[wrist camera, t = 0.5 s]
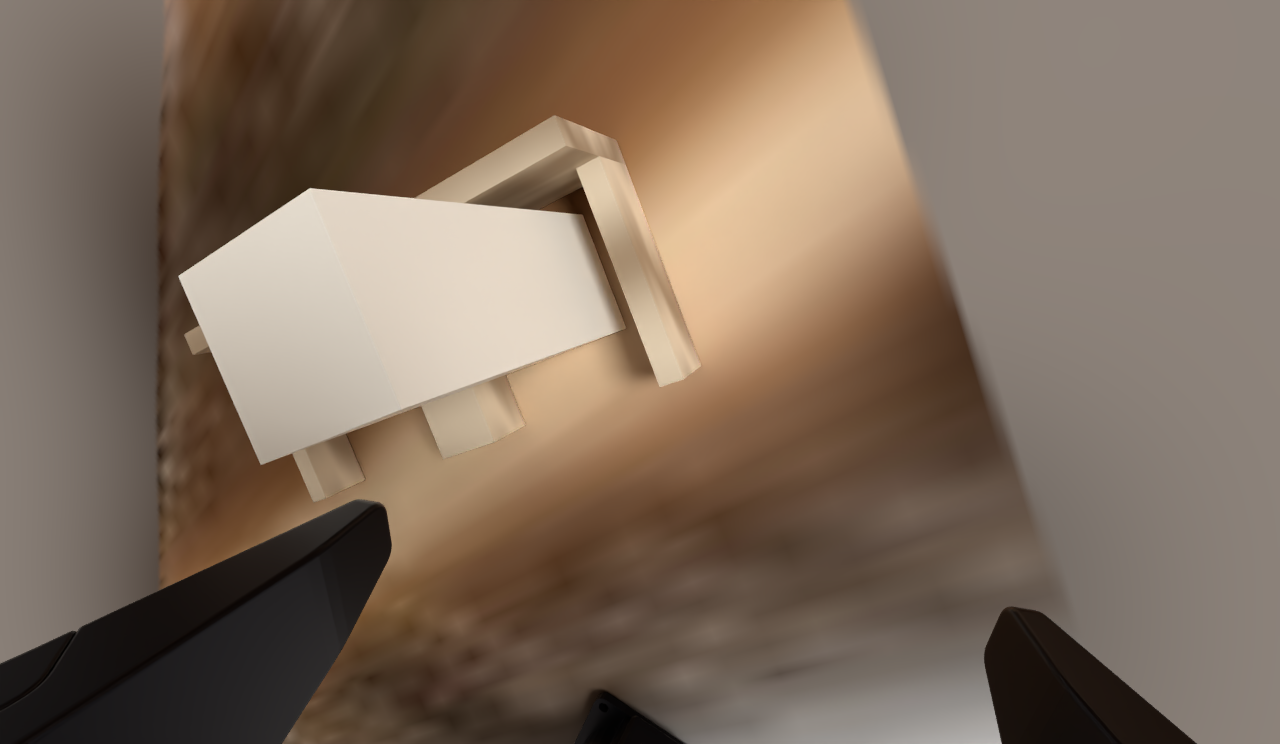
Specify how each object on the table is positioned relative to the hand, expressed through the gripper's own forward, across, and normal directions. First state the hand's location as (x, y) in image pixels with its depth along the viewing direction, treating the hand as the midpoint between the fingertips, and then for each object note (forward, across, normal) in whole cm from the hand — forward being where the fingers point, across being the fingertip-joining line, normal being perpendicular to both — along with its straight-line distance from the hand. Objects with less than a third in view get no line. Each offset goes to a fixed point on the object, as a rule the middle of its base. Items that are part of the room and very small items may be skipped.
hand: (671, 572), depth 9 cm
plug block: (+17, +7, +2) cm, 18 cm away
